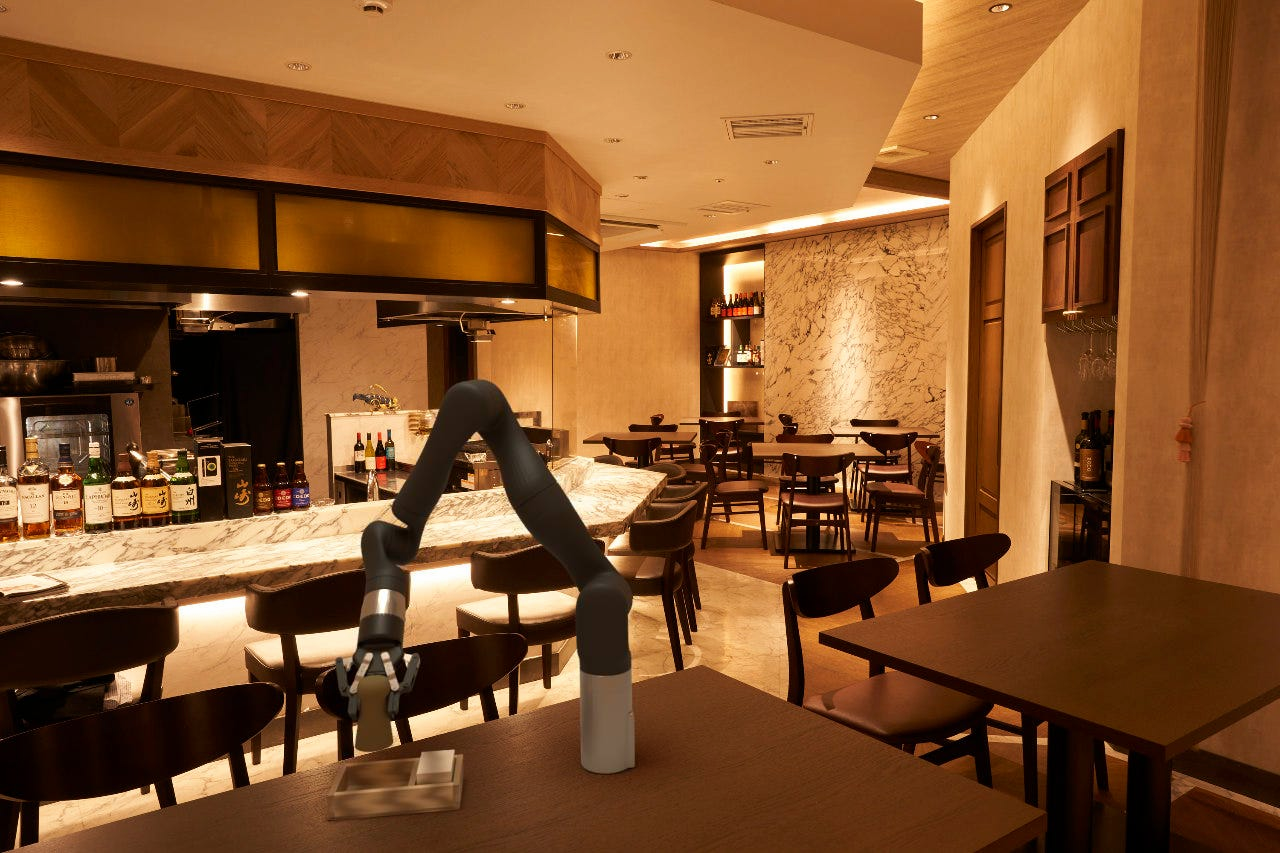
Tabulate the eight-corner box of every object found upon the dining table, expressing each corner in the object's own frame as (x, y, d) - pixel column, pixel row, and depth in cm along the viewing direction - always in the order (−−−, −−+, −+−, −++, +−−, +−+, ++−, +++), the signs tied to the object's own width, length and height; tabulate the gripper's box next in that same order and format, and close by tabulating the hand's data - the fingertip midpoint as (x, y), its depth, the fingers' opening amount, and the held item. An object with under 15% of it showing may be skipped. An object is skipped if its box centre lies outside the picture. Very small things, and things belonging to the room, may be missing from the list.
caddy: (463, 777, 141) (462, 745, 141) (459, 809, 130) (458, 774, 130) (342, 787, 138) (341, 754, 138) (328, 821, 127) (327, 785, 127)
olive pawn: (381, 753, 130) (381, 685, 129) (347, 750, 131) (346, 682, 131) (400, 737, 136) (399, 672, 135) (366, 734, 137) (366, 669, 136)
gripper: (335, 613, 139) (321, 711, 127) (422, 609, 141) (416, 705, 130) (342, 634, 144) (329, 730, 133) (426, 630, 146) (420, 724, 135)
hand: (372, 717), depth 131 cm, fingers closed on olive pawn, 5 cm apart
